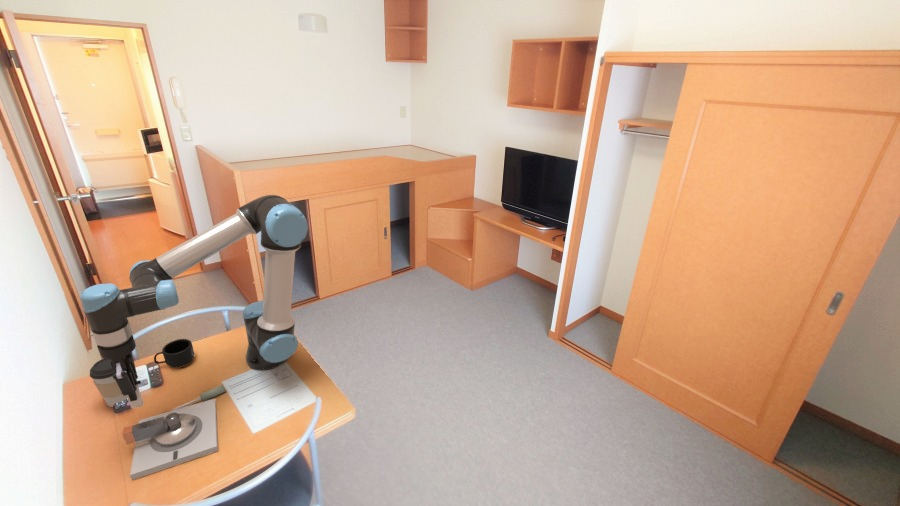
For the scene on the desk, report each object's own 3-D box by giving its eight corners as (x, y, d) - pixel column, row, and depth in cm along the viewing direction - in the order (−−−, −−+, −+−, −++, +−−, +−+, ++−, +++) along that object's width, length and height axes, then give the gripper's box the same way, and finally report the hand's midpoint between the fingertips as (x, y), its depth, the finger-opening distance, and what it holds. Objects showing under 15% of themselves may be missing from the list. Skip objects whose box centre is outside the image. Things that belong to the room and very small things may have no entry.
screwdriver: (222, 382, 136) (224, 387, 134) (223, 388, 137) (226, 393, 135) (170, 405, 126) (172, 409, 125) (172, 411, 127) (174, 415, 126)
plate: (216, 403, 131) (214, 398, 130) (217, 450, 116) (216, 445, 115) (141, 424, 122) (139, 419, 121) (132, 480, 106) (129, 474, 106)
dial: (196, 413, 124) (192, 399, 121) (196, 438, 116) (191, 423, 114) (131, 433, 117) (125, 417, 114) (126, 460, 109) (120, 445, 106)
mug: (194, 350, 153) (190, 335, 150) (196, 364, 147) (192, 349, 144) (156, 361, 147) (151, 345, 144) (157, 376, 140) (151, 360, 137)
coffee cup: (118, 412, 126) (104, 375, 119) (94, 406, 127) (79, 369, 121) (144, 391, 134) (131, 356, 127) (121, 386, 135) (107, 350, 129)
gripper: (101, 329, 110) (124, 394, 119) (91, 357, 99) (117, 426, 109) (135, 323, 113) (155, 386, 123) (129, 350, 103) (151, 417, 113)
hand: (137, 405), depth 116 cm, fingers closed
